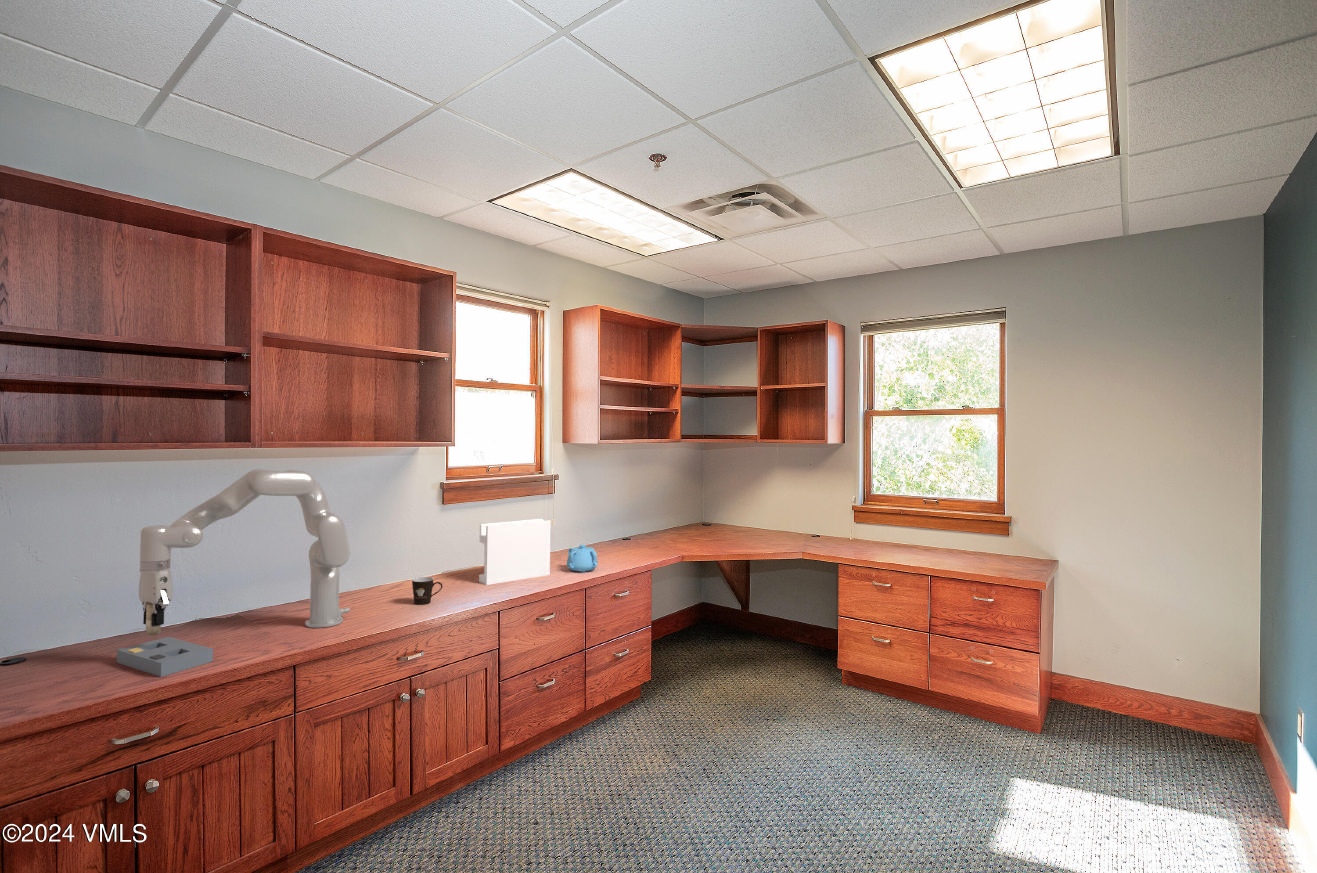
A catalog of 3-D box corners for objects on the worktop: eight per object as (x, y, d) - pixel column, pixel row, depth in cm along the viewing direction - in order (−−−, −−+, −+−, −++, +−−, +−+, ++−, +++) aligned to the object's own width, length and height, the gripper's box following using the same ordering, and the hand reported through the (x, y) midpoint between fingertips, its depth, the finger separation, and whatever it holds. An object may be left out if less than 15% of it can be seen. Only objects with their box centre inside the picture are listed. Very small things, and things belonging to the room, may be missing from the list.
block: (486, 585, 298) (487, 526, 297) (478, 581, 304) (479, 524, 303) (549, 574, 321) (550, 520, 321) (541, 572, 327) (542, 518, 327)
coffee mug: (406, 604, 262) (407, 580, 262) (420, 599, 270) (421, 576, 270) (429, 607, 258) (430, 583, 258) (443, 602, 266) (443, 578, 266)
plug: (156, 631, 198) (157, 600, 198) (162, 633, 197) (163, 601, 197) (143, 634, 195) (144, 602, 195) (149, 636, 193) (150, 604, 193)
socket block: (168, 648, 205) (168, 635, 205) (212, 661, 195) (212, 647, 195) (116, 662, 192) (116, 648, 192) (161, 676, 182) (161, 662, 182)
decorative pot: (597, 573, 326) (598, 547, 326) (566, 573, 324) (566, 547, 324) (597, 567, 342) (597, 542, 342) (567, 567, 340) (568, 542, 340)
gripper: (184, 566, 196) (182, 625, 196) (154, 560, 203) (152, 617, 203) (156, 570, 189) (154, 631, 189) (126, 564, 196) (124, 623, 196)
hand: (153, 623), depth 196 cm, fingers closed on plug, 3 cm apart
